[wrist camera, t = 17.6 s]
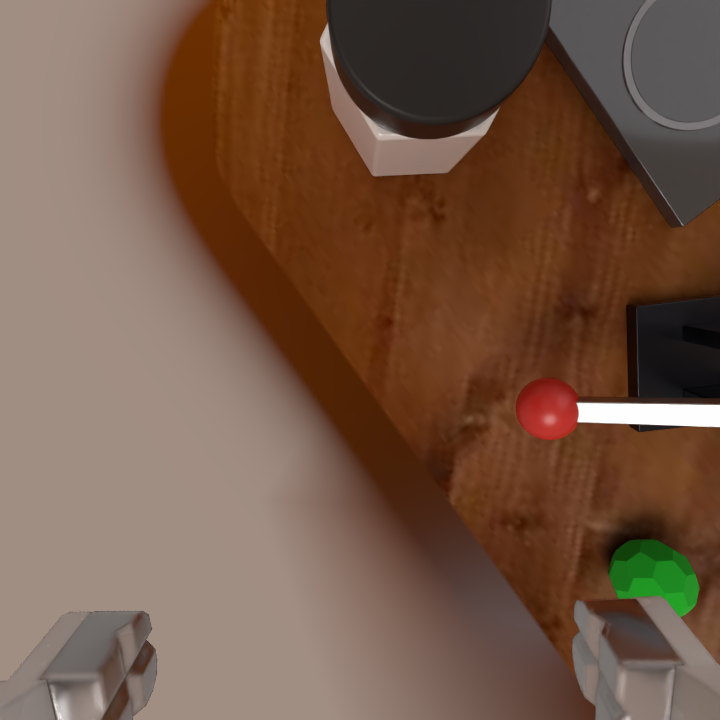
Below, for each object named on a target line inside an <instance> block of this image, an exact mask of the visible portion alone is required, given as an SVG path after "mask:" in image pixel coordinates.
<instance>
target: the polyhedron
mask: <svg viewBox="0 0 720 720" xmlns="http://www.w3.org/2000/svg"><path fill="white" fill-rule="evenodd" d="M608 574H609V577H610V579H611V582H612V585H613V588H614V590H615V592H616V595H617V597H618V599H620V598H632V597H647V596H660V597H662V598H664V599H665V600H666V601H667V602H668V603H669V604H670V606H671V607H672V608H673V609H674V610H675V612H676V613H677V614H678V615H679V617H680V618H681V617H682V616H684V615H685V614H686V613H688V612H689V611H690V610H691V609H692V608H693V607H694V606H695V605H696V602H697V597H698V592H699V584H698V581H697V578H696V575H695V573H694V571H693V569H692V567H691V565H690V563H689V561H688V560H687V558H686V557H685V556H683V555H682V554H680V553H678V552H677V551H675V550H673V549H672V548H670V547H668V546H666V545H665V544H663V543H661V542H659V541H658V540H656V539H636V540H630V541H628V542H626V543H625V544H624V545H622V546H621V547H619V548H618V549H617V550H616V551H615V553H614V555H613V557H612V559H611V563H610V567H609V570H608Z"/></svg>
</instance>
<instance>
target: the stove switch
mask: <svg viewBox="0 0 720 720" xmlns="http://www.w3.org/2000/svg"><path fill="white" fill-rule="evenodd" d="M626 307H627V347H628V386H629V397H654V398H720V294H714V295H705V296H697V297H689V298H680V299H672V300H663V301H655V302H647V303H638V304H630V305H627V306H626ZM629 425H630V427H631V428H633V429H635V430H636V431H638V432H644V431H653V430H661V429H670V428H679V427H688V426H663V425H634V424H629Z"/></svg>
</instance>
